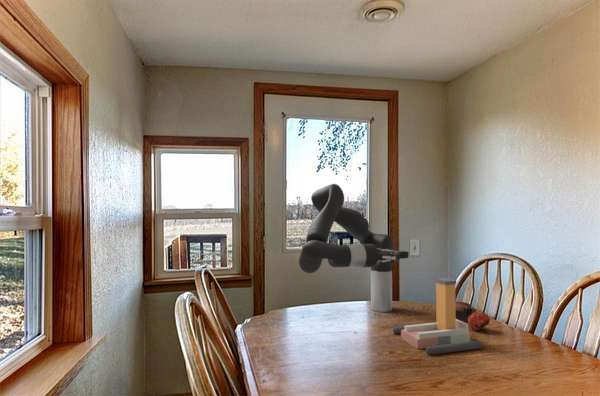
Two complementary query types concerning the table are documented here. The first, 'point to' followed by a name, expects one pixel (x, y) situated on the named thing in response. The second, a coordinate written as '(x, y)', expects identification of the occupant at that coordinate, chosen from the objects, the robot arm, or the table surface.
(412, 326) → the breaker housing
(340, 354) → the table surface
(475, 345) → the dark grey bar
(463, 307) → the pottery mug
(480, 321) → the pomegranate
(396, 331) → the cord bundle
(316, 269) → the robot arm
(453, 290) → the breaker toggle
